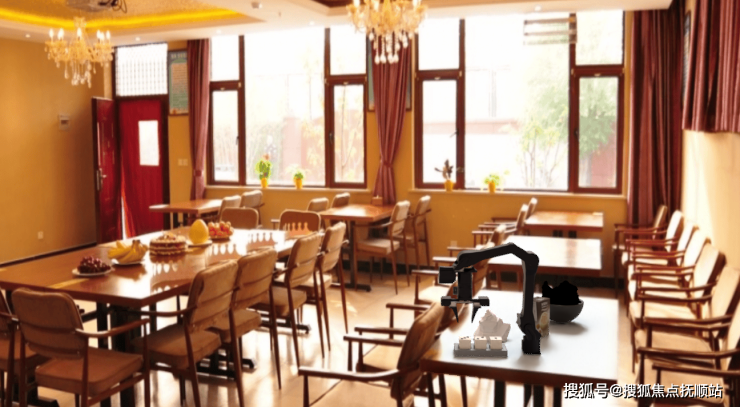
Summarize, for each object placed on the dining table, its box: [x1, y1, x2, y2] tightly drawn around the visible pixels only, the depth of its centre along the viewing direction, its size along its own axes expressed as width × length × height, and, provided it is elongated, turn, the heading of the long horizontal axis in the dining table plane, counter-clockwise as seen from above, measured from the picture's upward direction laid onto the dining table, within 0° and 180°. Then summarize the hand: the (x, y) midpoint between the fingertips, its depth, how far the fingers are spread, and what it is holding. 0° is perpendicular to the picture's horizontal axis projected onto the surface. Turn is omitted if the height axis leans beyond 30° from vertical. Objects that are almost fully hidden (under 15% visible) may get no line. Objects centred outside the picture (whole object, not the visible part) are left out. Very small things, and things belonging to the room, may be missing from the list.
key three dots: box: [458, 335, 472, 349], centre depth 262 cm, size 4×4×4 cm
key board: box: [453, 342, 509, 358], centre depth 262 cm, size 20×9×2 cm, turn 86°
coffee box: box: [533, 296, 551, 339], centre depth 283 cm, size 9×6×16 cm
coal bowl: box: [541, 279, 585, 324], centre depth 304 cm, size 20×20×19 cm
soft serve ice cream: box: [473, 308, 511, 343], centre depth 278 cm, size 12×15×14 cm
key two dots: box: [473, 335, 487, 349], centre depth 262 cm, size 4×4×4 cm
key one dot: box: [490, 337, 503, 349], centre depth 262 cm, size 4×4×4 cm
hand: (464, 322), depth 262 cm, fingers open, 5 cm apart
